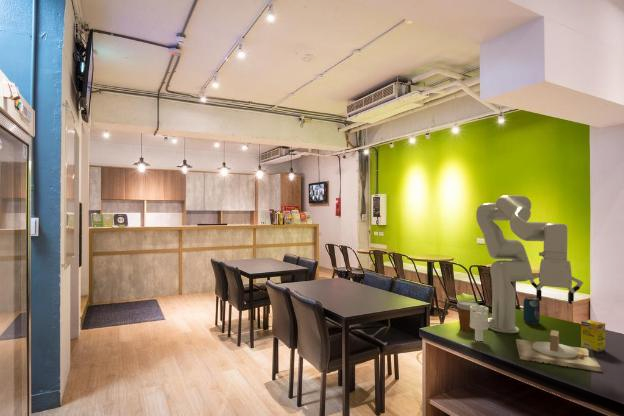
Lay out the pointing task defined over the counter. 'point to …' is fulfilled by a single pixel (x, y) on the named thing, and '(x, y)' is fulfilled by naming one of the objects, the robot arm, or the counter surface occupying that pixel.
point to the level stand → (578, 362)
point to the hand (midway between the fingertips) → (554, 301)
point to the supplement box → (593, 335)
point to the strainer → (479, 320)
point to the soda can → (531, 310)
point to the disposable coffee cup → (465, 314)
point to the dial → (555, 347)
